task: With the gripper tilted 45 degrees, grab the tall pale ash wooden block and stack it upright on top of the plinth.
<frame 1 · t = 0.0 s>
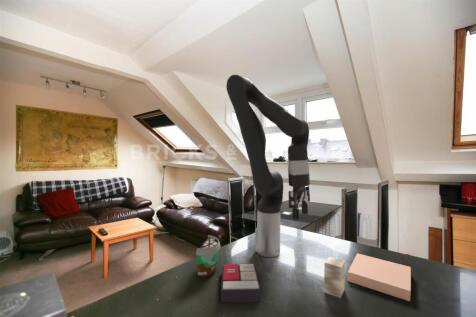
hand: (300, 216, 84), 17 cm above the countertop, tool pointing down, fingers open, 8 cm apart
ash block: (334, 291, 68), on the countertop
food container: (211, 270, 79), on the countertop
plinth: (379, 278, 74), on the countertop
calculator: (239, 287, 70), on the countertop
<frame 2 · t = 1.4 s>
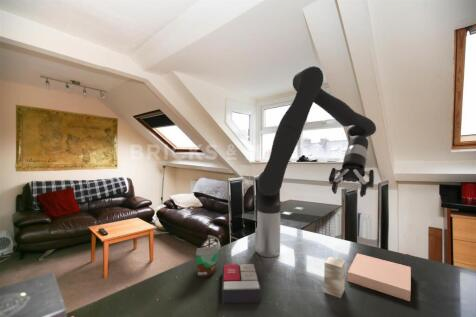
hand: (347, 194, 78), 27 cm above the countertop, tool tilted 45°, fingers open, 8 cm apart
nothing on the countertop moved.
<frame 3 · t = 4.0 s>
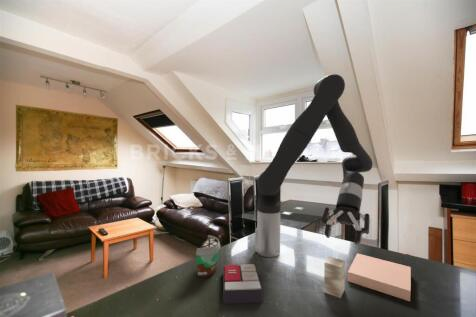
hand: (341, 240, 73), 13 cm above the countertop, tool tilted 45°, fingers open, 8 cm apart
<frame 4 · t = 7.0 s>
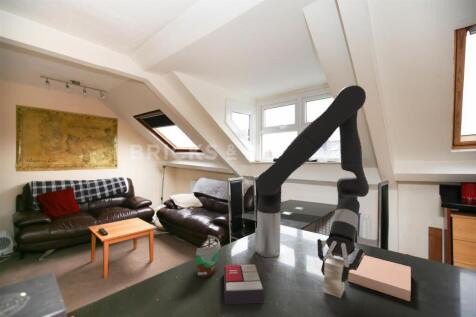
hand: (333, 278, 66), 5 cm above the countertop, tool tilted 45°, fingers closed on ash block, 4 cm apart
ash block: (334, 291, 68), on the countertop, touching gripper
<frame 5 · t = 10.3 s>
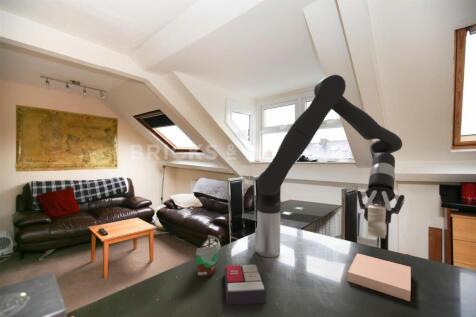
hand: (376, 221, 71), 20 cm above the countertop, tool tilted 45°, fingers closed on ash block, 4 cm apart
ash block: (377, 234, 72), point 15 cm above the countertop, touching gripper
when the fingers open (9 cm above the countertop, at t = 13.4 s): ash block drops 1 cm, resting on plinth.
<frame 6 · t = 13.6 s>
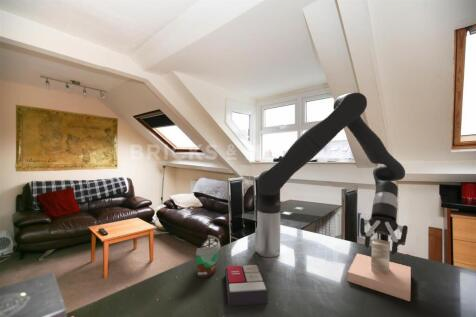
hand: (380, 251, 73), 9 cm above the countertop, tool tilted 45°, fingers open, 6 cm apart
ash block: (380, 269, 74), point 3 cm above the countertop, touching plinth
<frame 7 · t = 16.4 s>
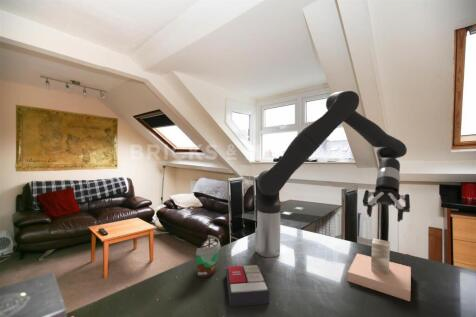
hand: (383, 218, 79), 18 cm above the countertop, tool tilted 45°, fingers open, 8 cm apart
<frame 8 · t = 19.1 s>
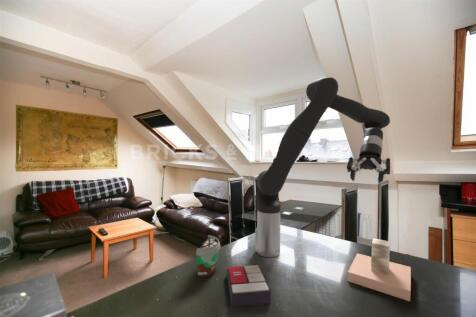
hand: (365, 180, 83), 31 cm above the countertop, tool tilted 45°, fingers open, 8 cm apart
at the end: ash block inside the target area on the plinth (0.1 cm from its centre), point 3.0 cm above the plinth's base; ash block tilted 0°; the gripper is holding nothing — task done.
